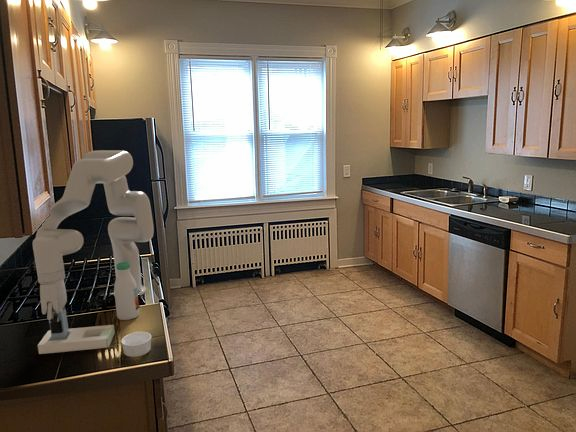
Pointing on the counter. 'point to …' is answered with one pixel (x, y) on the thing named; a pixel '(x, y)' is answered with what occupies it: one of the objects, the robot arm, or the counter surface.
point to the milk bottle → (126, 293)
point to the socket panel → (78, 340)
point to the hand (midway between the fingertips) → (59, 328)
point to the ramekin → (136, 344)
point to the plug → (64, 326)
